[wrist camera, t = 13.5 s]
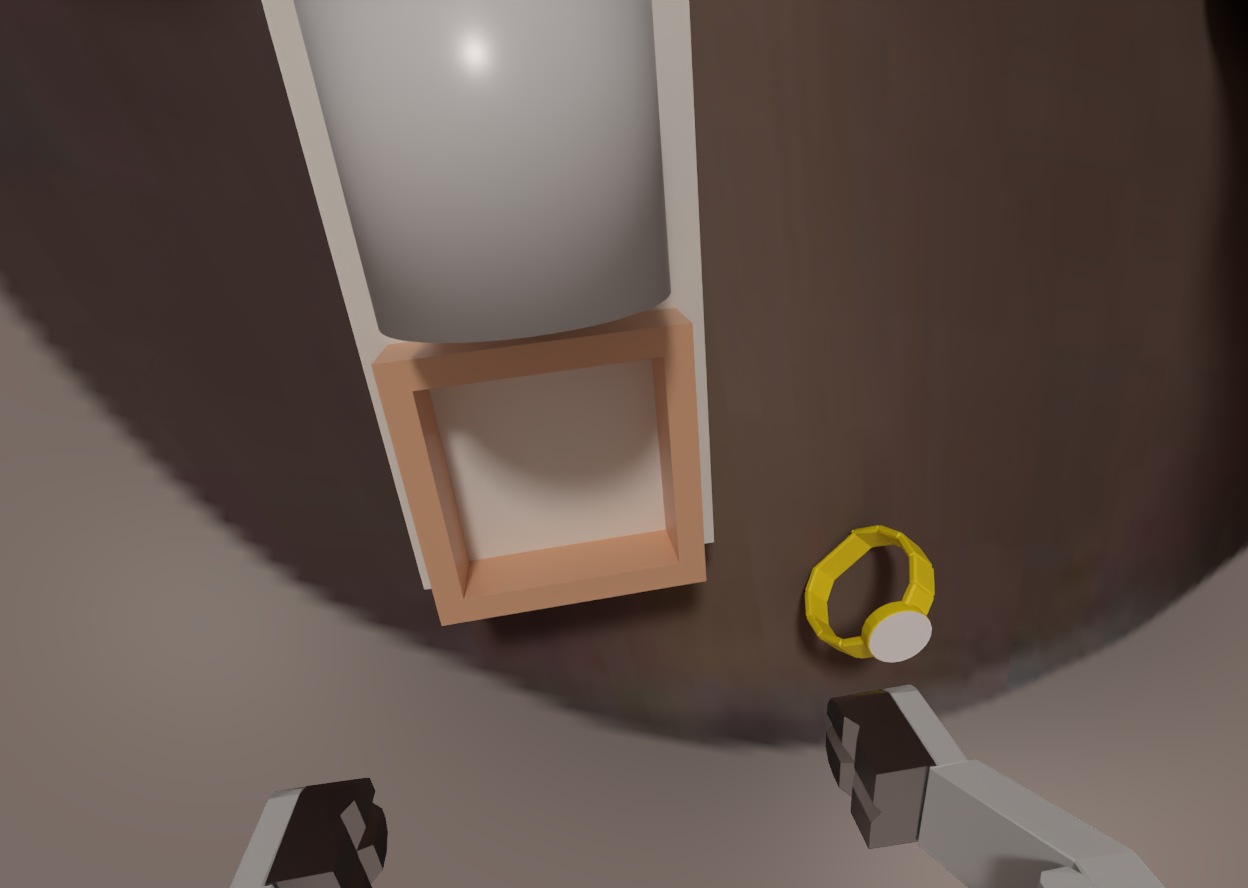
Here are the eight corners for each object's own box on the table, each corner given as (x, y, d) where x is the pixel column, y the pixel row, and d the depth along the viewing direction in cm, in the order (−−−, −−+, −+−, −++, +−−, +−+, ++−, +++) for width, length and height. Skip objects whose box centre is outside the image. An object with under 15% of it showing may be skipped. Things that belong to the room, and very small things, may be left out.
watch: (863, 498, 30) (937, 568, 25) (899, 526, 31) (977, 600, 26) (778, 585, 32) (831, 669, 26) (815, 609, 33) (873, 696, 27)
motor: (664, -37, 21) (793, -236, 11) (696, 507, 29) (785, 681, 19) (289, -8, 20) (41, -200, 10) (434, 549, 28) (382, 757, 18)
